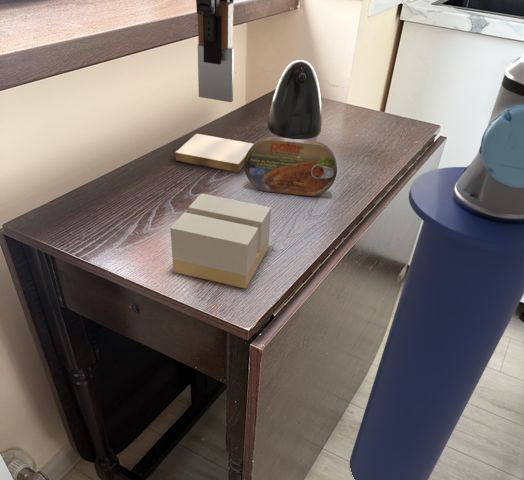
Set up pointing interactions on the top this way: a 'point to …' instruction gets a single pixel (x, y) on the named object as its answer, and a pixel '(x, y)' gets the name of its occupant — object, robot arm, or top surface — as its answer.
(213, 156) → the board
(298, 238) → the top surface
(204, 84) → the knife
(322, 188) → the tin
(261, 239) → the slotted card holder
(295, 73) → the black white dome
